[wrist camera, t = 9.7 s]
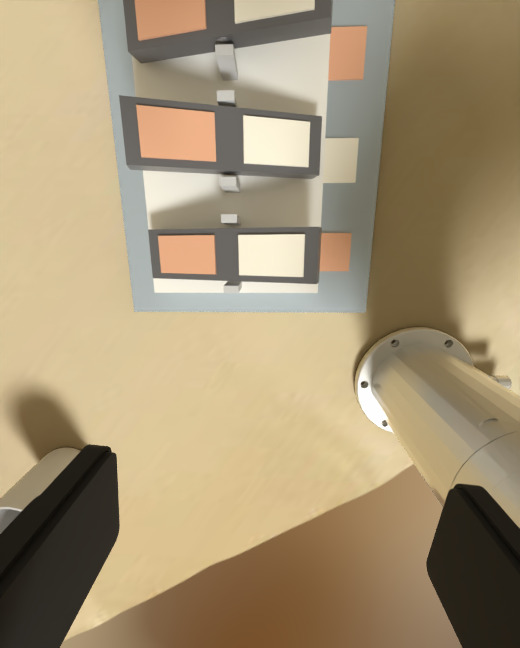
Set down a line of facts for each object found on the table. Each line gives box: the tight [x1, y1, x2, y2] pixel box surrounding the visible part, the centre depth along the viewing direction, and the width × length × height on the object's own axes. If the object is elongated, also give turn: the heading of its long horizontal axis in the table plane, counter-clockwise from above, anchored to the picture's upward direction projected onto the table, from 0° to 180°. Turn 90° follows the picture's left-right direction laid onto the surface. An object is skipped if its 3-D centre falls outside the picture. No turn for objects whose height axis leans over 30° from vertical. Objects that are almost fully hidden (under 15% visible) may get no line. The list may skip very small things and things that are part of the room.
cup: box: [0, 447, 81, 534], centre depth 34 cm, size 7×10×9 cm
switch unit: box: [98, 0, 395, 313], centre depth 25 cm, size 24×28×7 cm
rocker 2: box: [119, 95, 322, 179], centre depth 22 cm, size 14×4×2 cm, turn 90°
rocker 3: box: [148, 227, 322, 284], centre depth 24 cm, size 14×4×2 cm, turn 90°
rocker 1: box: [123, 0, 333, 63], centre depth 20 cm, size 14×4×2 cm, turn 90°
